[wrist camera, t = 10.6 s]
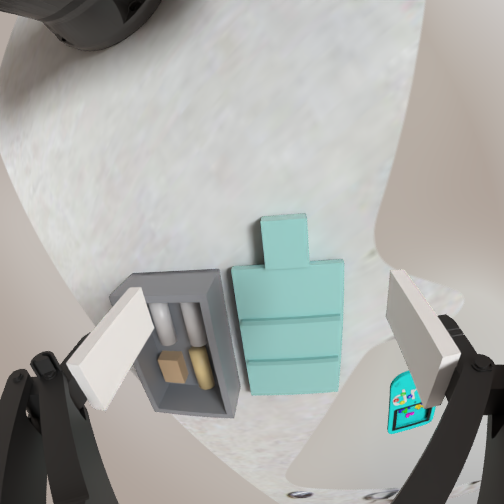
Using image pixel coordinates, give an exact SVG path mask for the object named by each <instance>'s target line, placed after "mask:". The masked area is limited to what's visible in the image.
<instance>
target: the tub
mask: <svg viewBox="0 0 504 504" xmlns="http://www.w3.org/2000/svg"><path fill="white" fill-rule="evenodd" d="M130 287H141V288H142V291H143V295H144V298H145V301H146V304H147V307H148V311H149V314H150V317H151V320H152V323H153V326H154V329H153V331H152V333H151V334H150V336H149V338H148V339H147V341H146V343H145V344H144V346H143V348H142V349H141V351H140V353H139V354H138V356H137V358H136V359H135V361H134V363H133V364H134V366H135V369H136V371H137V374H138V376H139V378H140V380H141V383H142V385H143V387H144V389H145V392H146V394H147V396H148V398H149V400H150V402H151V405H152V407H153V409H154V411H155V412H163V413H171V414H180V415H190V416H202V417H217V418H234V416H235V411H236V406H237V401H238V396H239V391H240V381H239V376H238V371H237V366H236V361H235V355H234V350H233V345H232V339H231V334H230V328H229V323H228V317H227V311H226V306H225V300H224V294H223V288H222V282H221V276H220V270H219V269H207V270H189V271H169V272H149V273H132V274H131V275H130V276H129V277H128V278H127V279H126V280H125V281H124V282H123V283H122V284H121V285H120V286H119V287H118V288H117V289H116V290H115V291H114V292H113V293H112V294H111V295H110V296H109V298H110V302H111V305H112V307H113V306H114V305H115V304H116V302H117V301H118V300H119V299H120V298H121V297H122V296H123V294H124V293H125V292H126V291H127V290H128V289H129V288H130Z"/></svg>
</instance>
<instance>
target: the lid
mask: <svg viewBox="0 0 504 504" xmlns="http://www.w3.org/2000/svg"><path fill="white" fill-rule="evenodd" d="M260 223H261V232H262V241H263V251H264V260H265V264H263V265H247V266H233V267H232V269H231V273H232V279H233V286H234V292H235V299H236V305H237V311H238V318H239V324H240V330H241V336H242V342H243V348H244V354H245V360H246V366H247V372H248V378H249V384H250V389H251V395H293V394H311V393H325V392H337V391H338V387H339V375H340V363H341V348H342V330H343V306H344V261H343V259H337V260H323V261H309V246H308V228H307V217H306V213H303V214H289V215H276V216H263V217H262V218H261V221H260Z"/></svg>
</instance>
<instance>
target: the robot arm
mask: <svg viewBox="0 0 504 504" xmlns="http://www.w3.org/2000/svg"><path fill="white" fill-rule="evenodd" d="M160 2H161V0H0V11H2V12H7V13H11V14H16V15H20V16H24V17H28V18H32V19H35V20H38V21H41V22H43V23H44V24H45V25H46V26H47V27H48V28H49V29H50V30H51V31H52V32H53V33H54V34H55V35H56V36H57V38H58V39H59V40H60V41H61V42H63V43H64V44H66V45H68V46H70V47H73V48H77V49H80V50H84V51H95V50H100V49H104V48H107V47H110V46H112V45H114V44H116V43H118V42H120V41H122V40H124V39H125V38H127V37H128V36H130V35H131V34H132V33H134V32H135V31H136V30H137V29H138V28H139V27H141V26H142V25H143V24H144V23H145V22H146V21H147V20H148V18H149V17H150V16H151V15H152V14H153V12H154V11H155V10H156V8H157V7H158V5H159V3H160ZM386 318H387V320H388V322H389V324H390V327H391V329H392V331H393V333H394V336H395V338H396V340H397V342H398V345H399V347H400V349H401V352H402V354H403V356H404V359H405V361H406V364H407V366H408V369H409V371H410V373H411V376H412V378H413V381H414V383H415V386H416V389H417V391H418V394H419V396H420V399H421V402H422V405H423V407H424V409H426V408H430V407H434V406H438V405H441V403H442V401H443V399H444V397H445V396H446V398H447V400H448V405H447V407H446V409H445V411H444V413H443V415H442V417H441V420H440V422H439V424H438V426H437V428H436V430H435V432H434V434H433V436H432V438H431V439H430V441H429V443H428V445H427V447H426V449H425V451H424V453H423V454H422V456H421V458H420V459H419V461H418V463H417V465H416V466H415V468H414V469H413V471H412V473H411V474H410V476H409V477H408V479H407V481H406V482H405V484H404V485H403V487H402V488H401V490H400V491H399V493H398V494H397V495H396V497H395V498H394V500H393V501H392V503H391V504H445V503H446V501H447V499H448V497H449V495H450V493H451V491H452V489H453V487H454V485H455V483H456V481H457V479H458V477H459V475H460V473H461V471H462V468H463V466H464V464H465V462H466V459H467V457H468V454H469V452H470V450H471V447H472V445H473V442H474V439H475V437H476V434H477V431H478V428H479V426H480V423H481V420H482V417H483V415H488V423H487V440H486V450H485V460H484V467H483V474H482V480H481V486H480V492H479V497H478V502H477V504H504V365H495V364H494V362H493V361H492V360H491V359H490V358H489V357H487V356H485V355H481V354H477V353H476V351H475V350H474V348H473V347H472V345H471V344H470V342H469V341H468V339H467V338H466V336H465V335H463V332H462V330H461V329H459V326H458V325H457V323H456V322H455V321H454V320H453V319H452V318H450V317H449V316H447V315H446V314H445V315H439V316H437V315H436V313H435V312H434V311H433V309H432V308H431V306H430V305H429V303H428V302H427V300H426V299H425V298H424V296H423V295H422V293H421V292H420V291H419V289H418V288H417V286H416V285H415V284H414V282H413V281H412V280H411V278H410V277H409V276H408V274H407V273H406V272H405V270H404V269H400V270H390V278H389V290H388V300H387V310H386ZM153 329H154V326H153V323H152V320H151V317H150V314H149V311H148V307H147V304H146V301H145V298H144V295H143V291H142V288H141V287H130V288H129V289H128V290H127V291H126V292H125V293H124V294H123V296H122V297H121V298H120V299H119V300H118V301H117V302H116V304H115V305H114V306H113V307H112V308H111V309H110V310H109V312H108V313H107V314H106V315H105V316H104V317H103V319H102V320H101V321H100V322H99V323H98V325H97V326H96V327H95V328H94V329H93V331H92V332H90V333H89V334H87V335H85V336H84V337H83V338H82V339H81V340H80V341H79V342H78V344H77V345H76V346H75V347H74V348H73V350H72V351H71V352H70V353H69V355H68V356H67V357H66V358H65V359H64V361H63V362H62V363H61V364H60V365H59V363H58V361H57V359H56V357H55V356H54V354H53V353H52V352H50V351H45V352H42V353H39V354H38V355H36V356H35V357H34V358H33V359H32V360H31V363H30V365H31V367H32V369H33V370H34V372H35V374H36V375H37V377H30V375H29V373H28V372H27V370H25V369H19V370H16V371H14V372H13V373H12V374H11V375H10V376H9V378H8V380H7V383H6V385H5V388H4V391H3V394H2V396H1V399H0V504H46V486H47V474H48V480H49V485H50V489H51V494H52V498H53V503H54V504H118V501H117V499H116V497H115V494H114V492H113V489H112V487H111V484H110V481H109V479H108V476H107V473H106V471H105V468H104V465H103V462H102V459H101V456H100V453H99V450H98V447H97V444H96V440H95V437H94V434H93V430H92V427H91V423H90V419H89V415H88V412H87V409H86V407H85V406H84V404H85V402H86V401H87V400H88V401H89V403H90V405H91V406H92V408H94V409H99V410H103V411H106V410H107V408H108V406H109V404H110V403H111V401H112V399H113V397H114V396H115V394H116V392H117V390H118V389H119V387H120V385H121V383H122V381H123V380H124V378H125V376H126V375H127V373H128V371H129V370H130V368H131V366H132V365H133V363H134V361H135V359H136V358H137V356H138V354H139V353H140V351H141V349H142V348H143V346H144V344H145V343H146V341H147V339H148V338H149V336H150V334H151V333H152V331H153ZM26 410H27V412H28V413H29V414H28V417H27V416H26Z"/></svg>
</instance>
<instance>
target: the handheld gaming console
mask: <svg viewBox="0 0 504 504" xmlns="http://www.w3.org/2000/svg"><path fill="white" fill-rule="evenodd" d="M435 407H436V406H434V407H430V408H426V409H424V407H423V405H422V402H421V399H420V396H419V394H418V391H417V389H416V386H415V383H414V381H413V378H412V376H411V373H410V371H409V370H408V371H405V372H403V373H401V374H399V375H398V376H396V377H395V378H394V379H393V381H392V382H391V384H390V398H389V414H388V426H387V430H388V433H389V434H394V433H398V432H402V431H405V430H409V429H412V428H415V427H419V426H422V425H425V424H427V423H429V422H431V421H432V419H433V416H434V412H435Z"/></svg>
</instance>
